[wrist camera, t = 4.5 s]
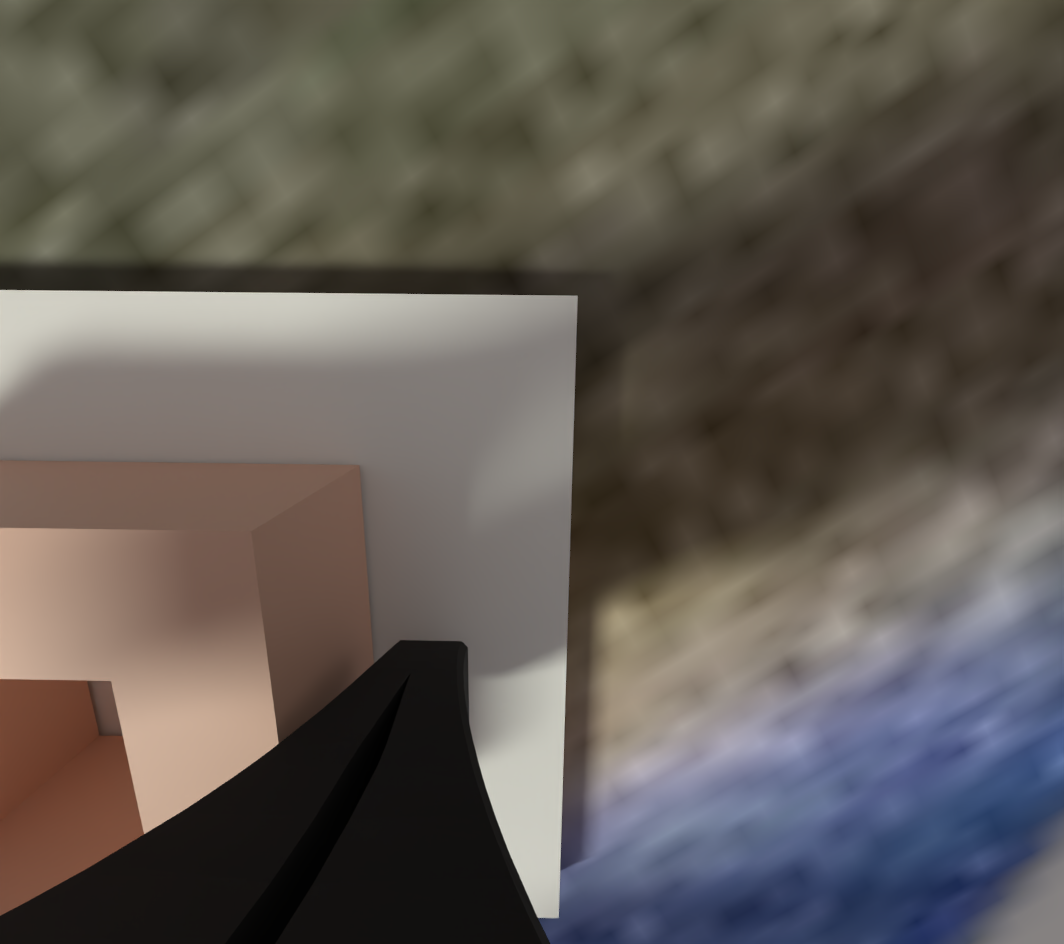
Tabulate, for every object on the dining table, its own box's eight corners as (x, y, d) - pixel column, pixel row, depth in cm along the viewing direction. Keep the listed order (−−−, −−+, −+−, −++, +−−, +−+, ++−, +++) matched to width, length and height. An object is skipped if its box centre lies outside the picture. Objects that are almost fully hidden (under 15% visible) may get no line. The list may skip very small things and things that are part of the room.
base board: (557, 874, 13) (569, 1201, 8) (-134, 861, 13) (-549, 1172, 8) (573, 302, 9) (612, 244, 4) (-354, 292, 10) (-1287, 226, 5)
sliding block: (385, 816, 11) (315, 1026, 7) (28, 809, 11) (-203, 1014, 8) (359, 464, 9) (251, 531, 6) (-71, 459, 9) (-436, 521, 6)
